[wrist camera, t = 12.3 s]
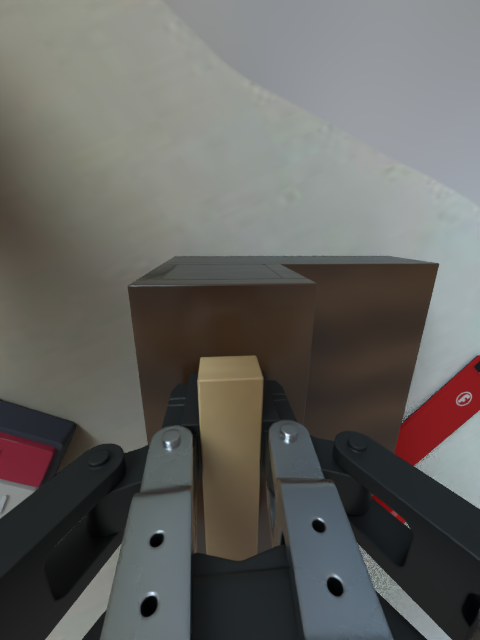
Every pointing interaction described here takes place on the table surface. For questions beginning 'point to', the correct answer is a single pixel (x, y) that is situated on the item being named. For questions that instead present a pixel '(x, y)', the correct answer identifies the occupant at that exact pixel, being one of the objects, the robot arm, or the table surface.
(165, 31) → the table surface
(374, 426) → the shelf
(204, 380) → the spoon
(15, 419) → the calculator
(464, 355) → the table surface
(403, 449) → the electronic device
